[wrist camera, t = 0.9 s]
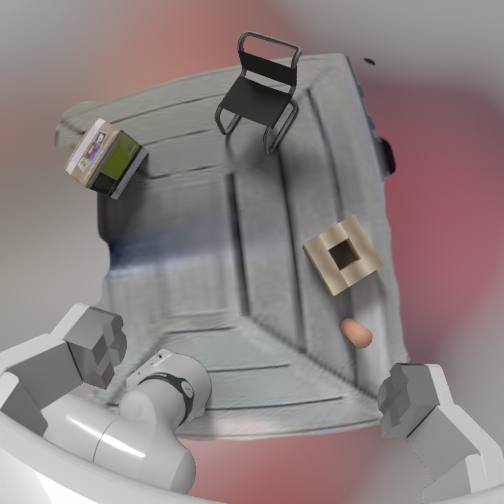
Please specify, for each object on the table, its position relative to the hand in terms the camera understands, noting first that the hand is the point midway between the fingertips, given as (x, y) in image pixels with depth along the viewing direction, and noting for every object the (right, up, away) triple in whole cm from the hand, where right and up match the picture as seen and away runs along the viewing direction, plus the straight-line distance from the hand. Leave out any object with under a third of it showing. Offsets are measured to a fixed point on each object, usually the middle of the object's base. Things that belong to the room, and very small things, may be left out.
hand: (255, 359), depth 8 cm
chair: (+2, +35, +63) cm, 72 cm away
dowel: (+21, -13, +57) cm, 62 cm away
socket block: (+19, +2, +58) cm, 61 cm away
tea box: (-34, +25, +67) cm, 79 cm away
